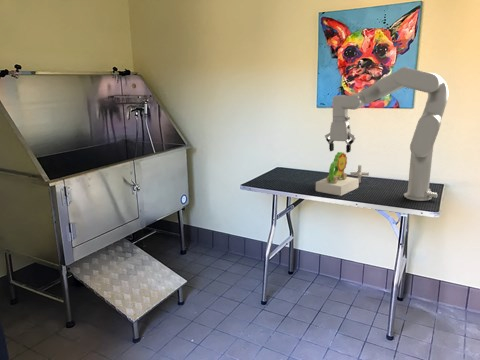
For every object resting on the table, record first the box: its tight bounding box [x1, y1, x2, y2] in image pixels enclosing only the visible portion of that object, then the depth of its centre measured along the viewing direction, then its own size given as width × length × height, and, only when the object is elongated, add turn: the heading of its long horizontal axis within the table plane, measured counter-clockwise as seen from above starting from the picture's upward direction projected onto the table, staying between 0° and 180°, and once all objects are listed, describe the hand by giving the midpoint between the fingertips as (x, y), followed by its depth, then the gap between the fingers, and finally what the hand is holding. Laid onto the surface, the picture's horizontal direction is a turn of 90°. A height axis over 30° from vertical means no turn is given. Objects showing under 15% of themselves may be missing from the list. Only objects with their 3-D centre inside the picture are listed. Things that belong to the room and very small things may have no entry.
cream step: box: [315, 176, 360, 197], centre depth 216 cm, size 15×20×5 cm
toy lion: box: [326, 151, 348, 183], centre depth 214 cm, size 16×5×15 cm, turn 139°
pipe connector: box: [349, 164, 370, 184], centre depth 228 cm, size 10×10×10 cm
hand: (339, 151), depth 212 cm, fingers open, 9 cm apart
